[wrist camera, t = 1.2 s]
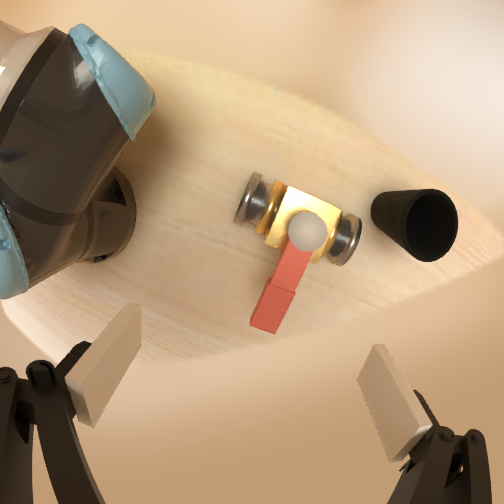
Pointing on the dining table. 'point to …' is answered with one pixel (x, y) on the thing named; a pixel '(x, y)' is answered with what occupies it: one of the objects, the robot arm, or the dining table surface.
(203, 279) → the dining table surface
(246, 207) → the valve body
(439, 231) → the cup
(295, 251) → the lever
